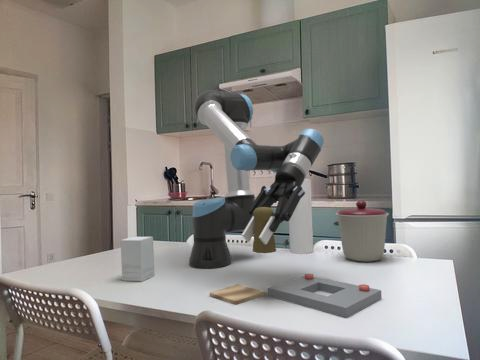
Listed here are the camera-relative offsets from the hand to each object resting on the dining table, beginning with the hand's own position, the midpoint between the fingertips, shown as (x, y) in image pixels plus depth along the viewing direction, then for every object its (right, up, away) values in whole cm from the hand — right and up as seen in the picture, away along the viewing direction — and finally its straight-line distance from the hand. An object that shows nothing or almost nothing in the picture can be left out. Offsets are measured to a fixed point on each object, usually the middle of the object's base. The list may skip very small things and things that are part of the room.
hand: (253, 239), depth 86 cm
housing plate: (+17, -14, 0) cm, 22 cm away
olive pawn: (+3, -3, +3) cm, 5 cm away
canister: (+41, -14, +40) cm, 59 cm away
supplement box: (-35, -16, +24) cm, 45 cm away
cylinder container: (+22, -15, +58) cm, 63 cm away
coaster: (-4, -15, +3) cm, 16 cm away
